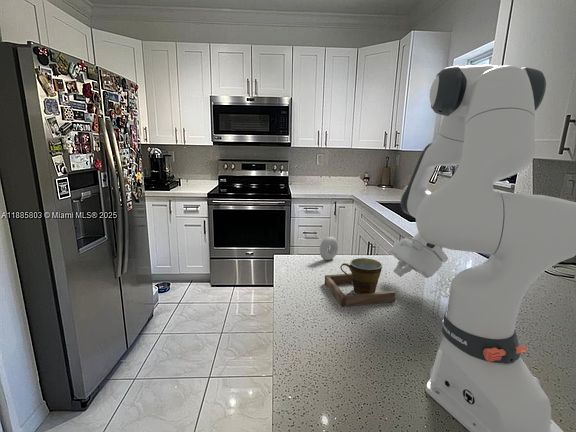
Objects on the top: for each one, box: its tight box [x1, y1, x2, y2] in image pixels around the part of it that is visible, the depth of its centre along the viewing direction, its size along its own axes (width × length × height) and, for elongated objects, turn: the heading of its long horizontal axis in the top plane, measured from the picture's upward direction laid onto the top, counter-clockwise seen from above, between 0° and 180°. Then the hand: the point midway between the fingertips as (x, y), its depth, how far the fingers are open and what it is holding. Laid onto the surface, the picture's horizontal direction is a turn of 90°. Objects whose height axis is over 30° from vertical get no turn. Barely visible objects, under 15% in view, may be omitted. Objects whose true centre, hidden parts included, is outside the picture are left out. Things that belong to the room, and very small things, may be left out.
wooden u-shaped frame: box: [324, 273, 396, 307], centre depth 103 cm, size 16×17×3 cm
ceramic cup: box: [339, 257, 383, 294], centre depth 102 cm, size 13×10×10 cm
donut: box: [319, 236, 339, 261], centre depth 131 cm, size 10×4×10 cm, turn 131°
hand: (396, 274), depth 105 cm, fingers closed
